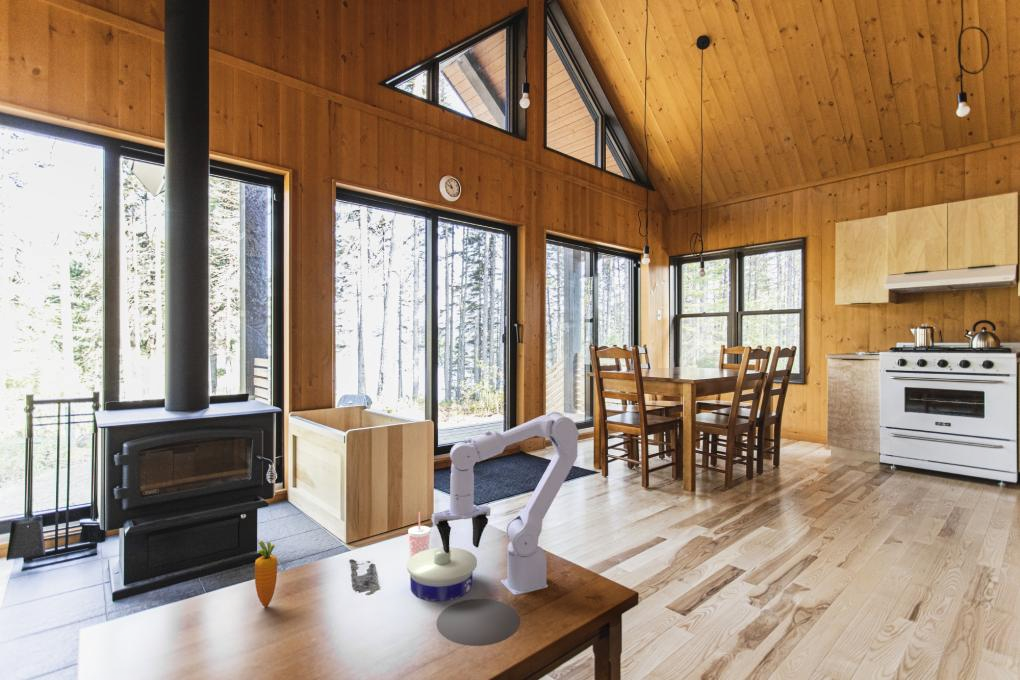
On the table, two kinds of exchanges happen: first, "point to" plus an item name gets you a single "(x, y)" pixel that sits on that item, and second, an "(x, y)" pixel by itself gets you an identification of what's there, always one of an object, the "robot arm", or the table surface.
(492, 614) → the mat
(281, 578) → the table surface
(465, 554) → the lid
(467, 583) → the dog bowl
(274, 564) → the carrot
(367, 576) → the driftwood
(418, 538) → the beverage cup
